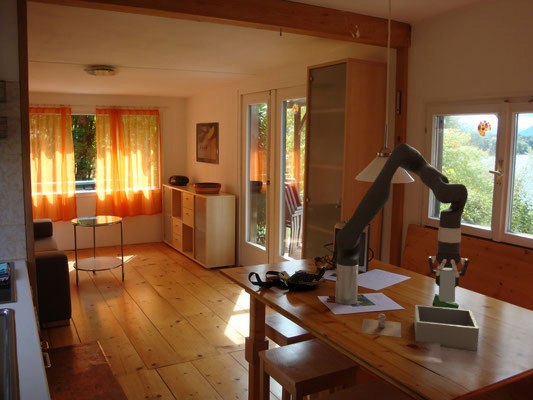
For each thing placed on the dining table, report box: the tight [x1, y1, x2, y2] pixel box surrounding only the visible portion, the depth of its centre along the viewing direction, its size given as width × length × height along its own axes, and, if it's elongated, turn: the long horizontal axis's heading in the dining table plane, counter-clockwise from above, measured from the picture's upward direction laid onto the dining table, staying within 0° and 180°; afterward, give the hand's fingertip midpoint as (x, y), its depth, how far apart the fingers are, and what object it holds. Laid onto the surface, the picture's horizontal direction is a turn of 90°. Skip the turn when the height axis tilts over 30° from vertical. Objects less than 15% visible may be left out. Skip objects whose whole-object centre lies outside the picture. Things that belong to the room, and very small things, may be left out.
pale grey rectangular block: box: [438, 268, 456, 303], centre depth 167 cm, size 5×5×11 cm
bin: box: [413, 304, 480, 352], centre depth 169 cm, size 20×18×8 cm
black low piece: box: [277, 263, 329, 287], centre depth 231 cm, size 22×30×8 cm
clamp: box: [431, 293, 459, 309], centre depth 195 cm, size 12×6×9 cm, turn 177°
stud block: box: [361, 313, 402, 338], centre depth 175 cm, size 14×14×6 cm
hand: (446, 285), depth 167 cm, fingers closed on pale grey rectangular block, 5 cm apart
